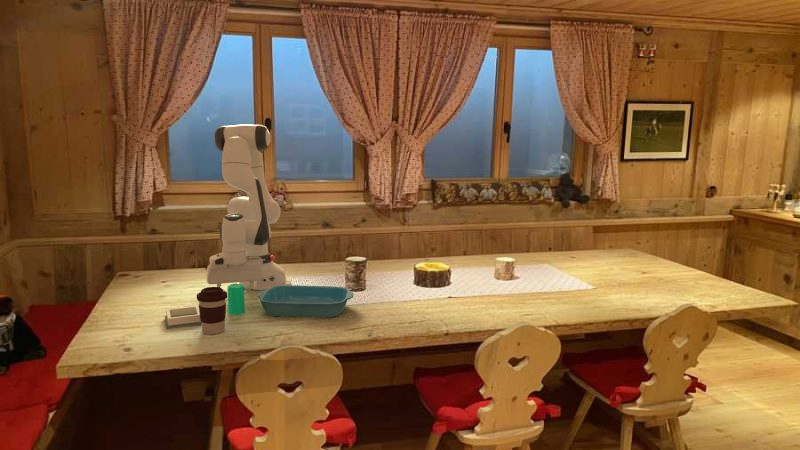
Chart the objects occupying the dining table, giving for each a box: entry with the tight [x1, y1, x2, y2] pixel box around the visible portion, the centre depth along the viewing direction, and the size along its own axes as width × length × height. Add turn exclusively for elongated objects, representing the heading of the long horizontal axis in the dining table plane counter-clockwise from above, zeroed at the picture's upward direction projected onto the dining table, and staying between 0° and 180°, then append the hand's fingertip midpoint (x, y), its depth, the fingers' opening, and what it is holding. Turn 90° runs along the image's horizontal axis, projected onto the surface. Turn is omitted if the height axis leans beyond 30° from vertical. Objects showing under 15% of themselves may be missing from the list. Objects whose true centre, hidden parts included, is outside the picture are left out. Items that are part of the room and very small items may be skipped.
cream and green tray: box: [164, 305, 202, 329], centre depth 204 cm, size 15×11×4 cm
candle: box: [227, 283, 246, 316], centre depth 213 cm, size 6×6×12 cm
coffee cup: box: [196, 286, 228, 335], centre depth 193 cm, size 10×10×15 cm
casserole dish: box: [256, 284, 354, 318], centre depth 218 cm, size 37×22×7 cm, turn 88°
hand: (235, 293), depth 213 cm, fingers open, 8 cm apart
